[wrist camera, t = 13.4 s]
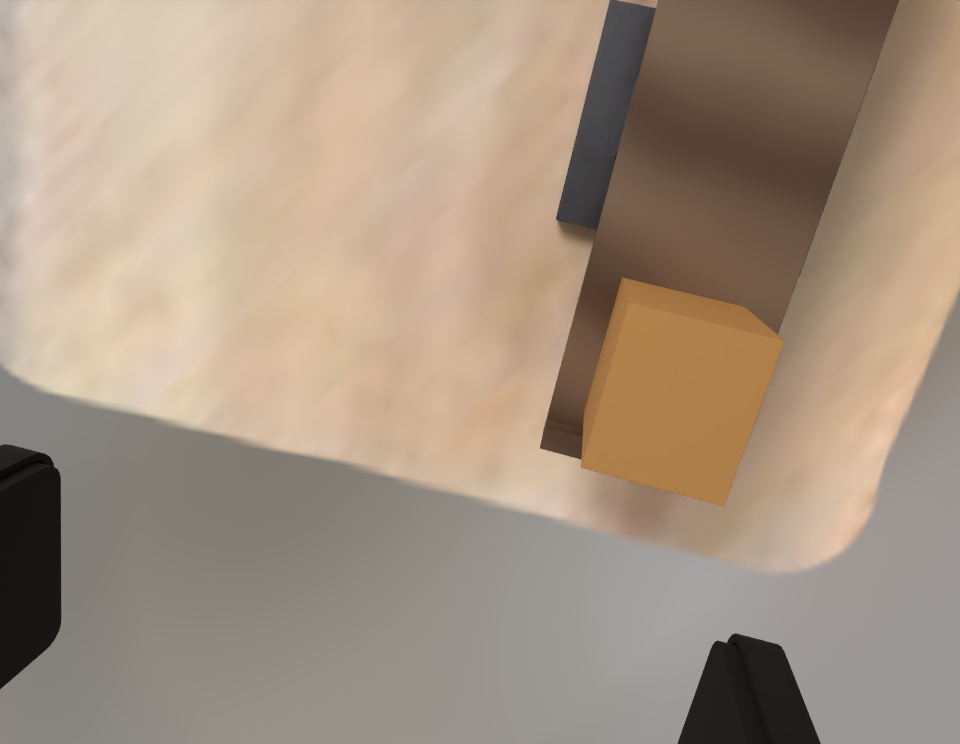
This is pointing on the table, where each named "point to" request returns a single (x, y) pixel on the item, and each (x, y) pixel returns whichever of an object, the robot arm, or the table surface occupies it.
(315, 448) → the table surface
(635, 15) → the stand
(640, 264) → the beam
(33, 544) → the robot arm
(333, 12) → the table surface
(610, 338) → the block
